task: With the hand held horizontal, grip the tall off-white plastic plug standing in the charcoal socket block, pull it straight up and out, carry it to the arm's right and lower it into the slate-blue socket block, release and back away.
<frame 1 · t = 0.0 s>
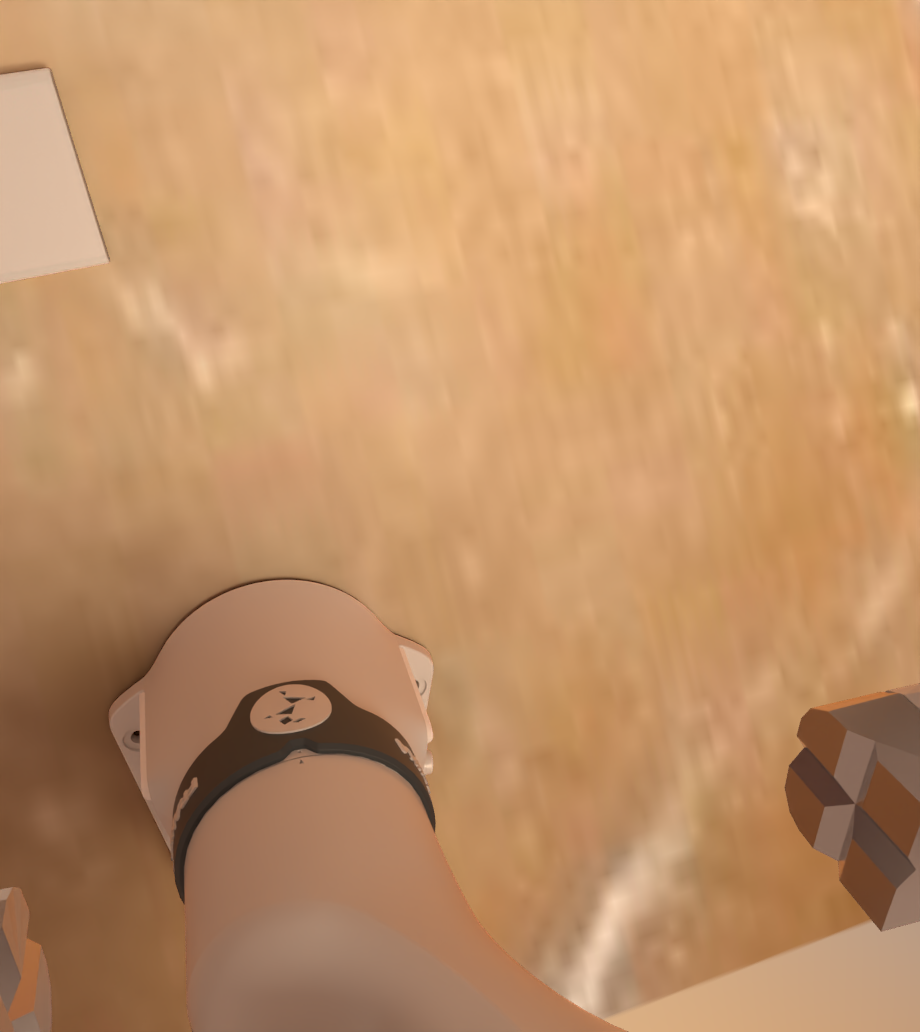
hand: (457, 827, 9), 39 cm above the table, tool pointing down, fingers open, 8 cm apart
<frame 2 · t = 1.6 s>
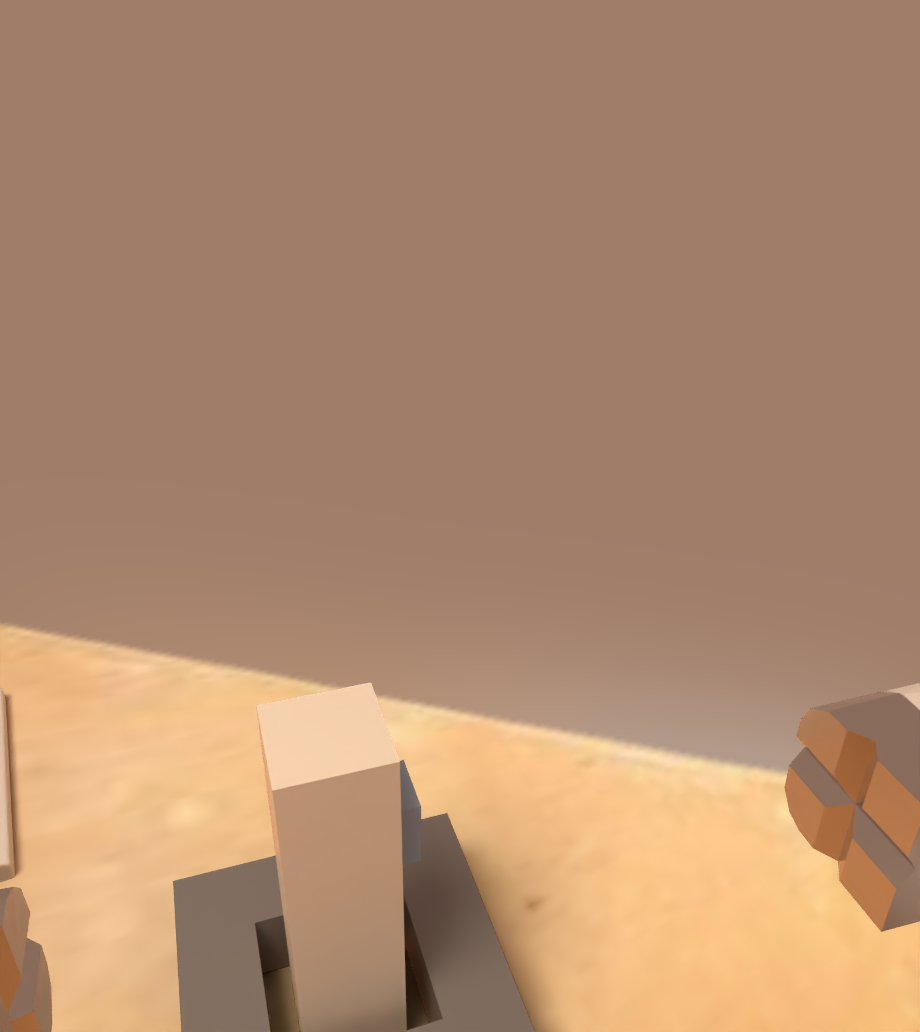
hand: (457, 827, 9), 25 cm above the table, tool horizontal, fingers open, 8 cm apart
socket a: (348, 1019, 32), on the table
plug: (350, 889, 29), in the socket a
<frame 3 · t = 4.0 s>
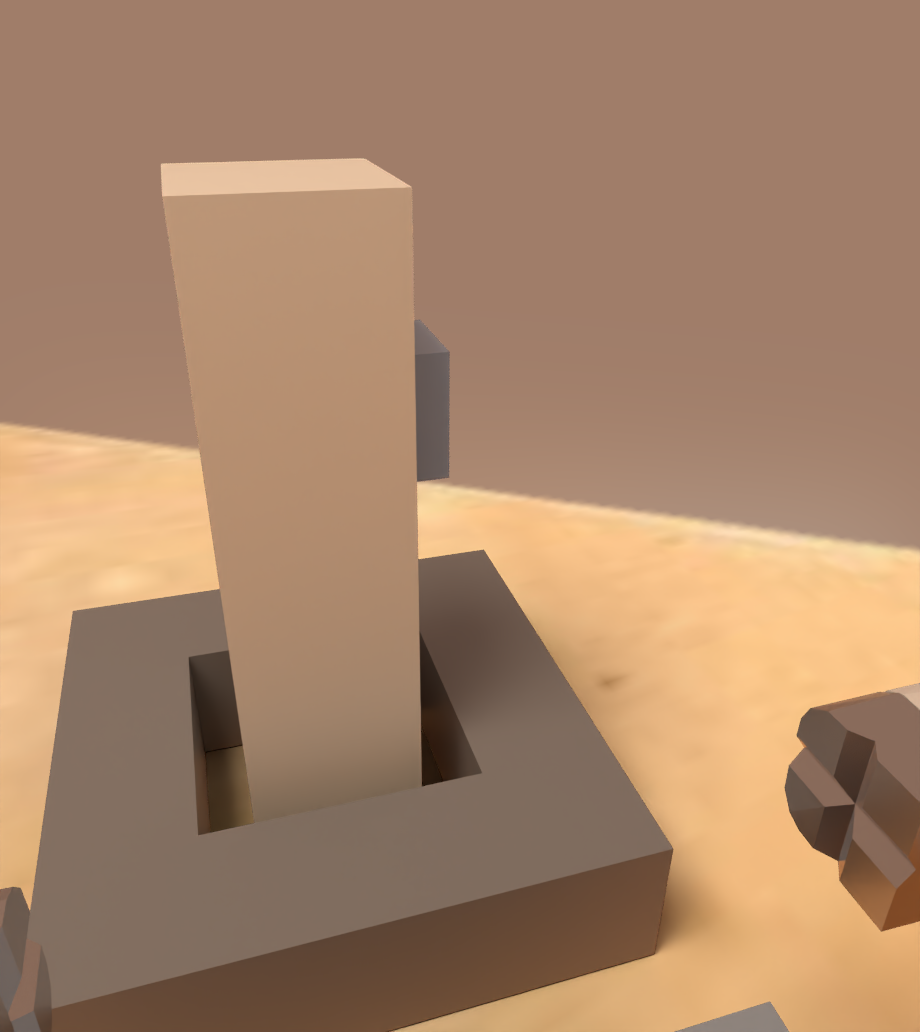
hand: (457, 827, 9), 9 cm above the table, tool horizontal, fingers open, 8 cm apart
socket a: (331, 808, 21), on the table
plug: (330, 551, 17), in the socket a
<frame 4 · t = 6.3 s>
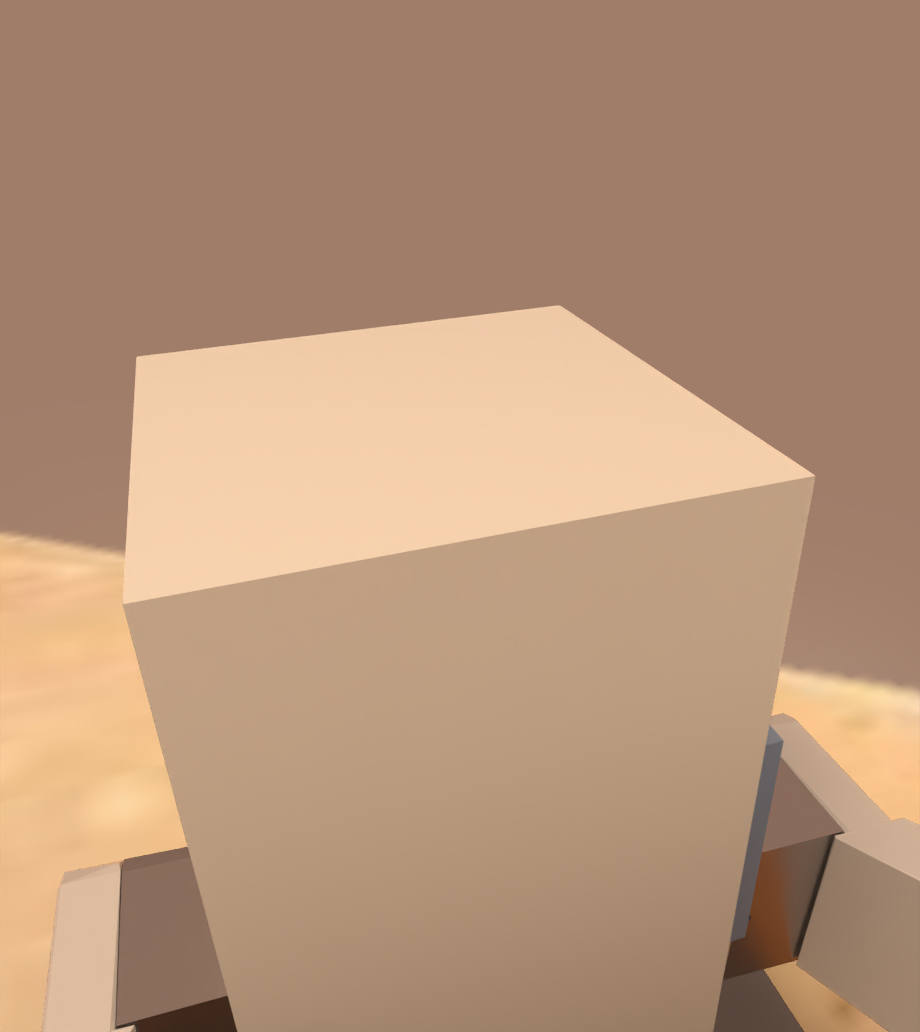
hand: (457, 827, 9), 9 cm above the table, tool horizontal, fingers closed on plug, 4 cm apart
plug: (489, 1022, 9), in the socket a, touching gripper
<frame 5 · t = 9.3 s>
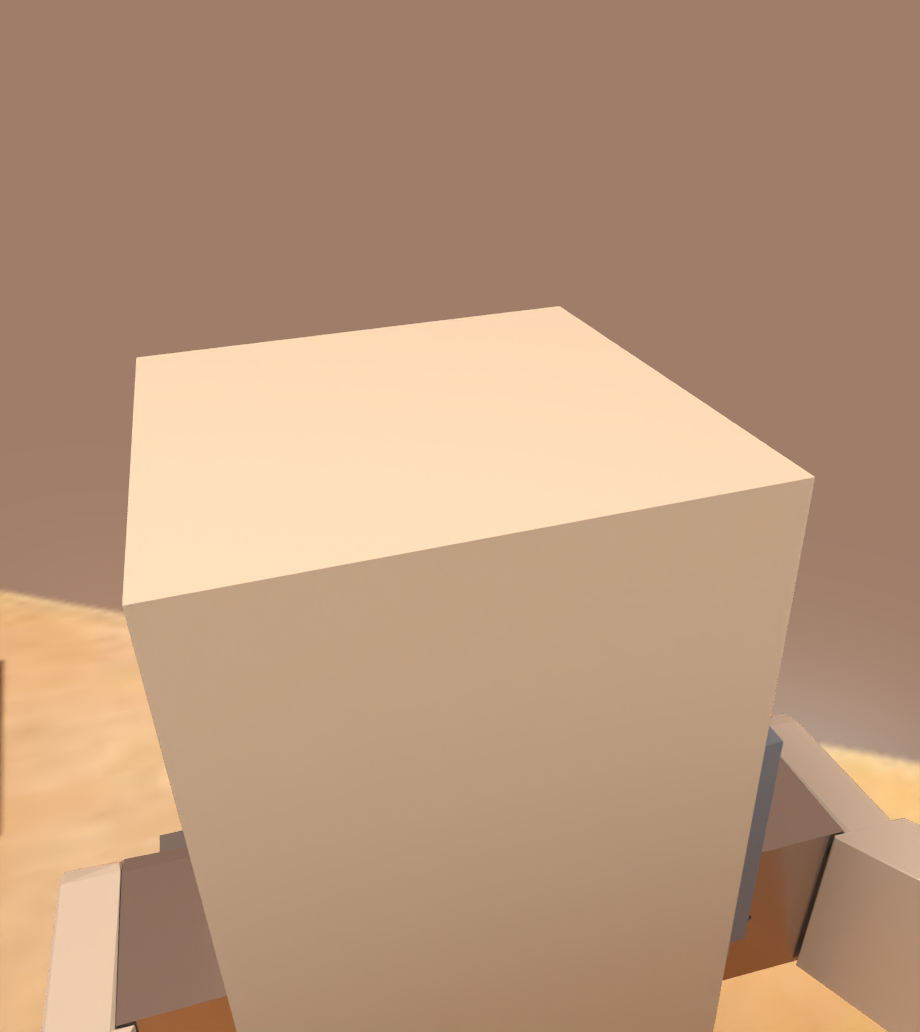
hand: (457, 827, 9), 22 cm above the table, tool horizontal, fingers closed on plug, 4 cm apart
socket a: (340, 981, 30), on the table
plug: (489, 1023, 9), point 20 cm above the table, touching gripper
when the fingers open (10 cm above the table, at t = 12.3 s): plug drops 1 cm, on the table.
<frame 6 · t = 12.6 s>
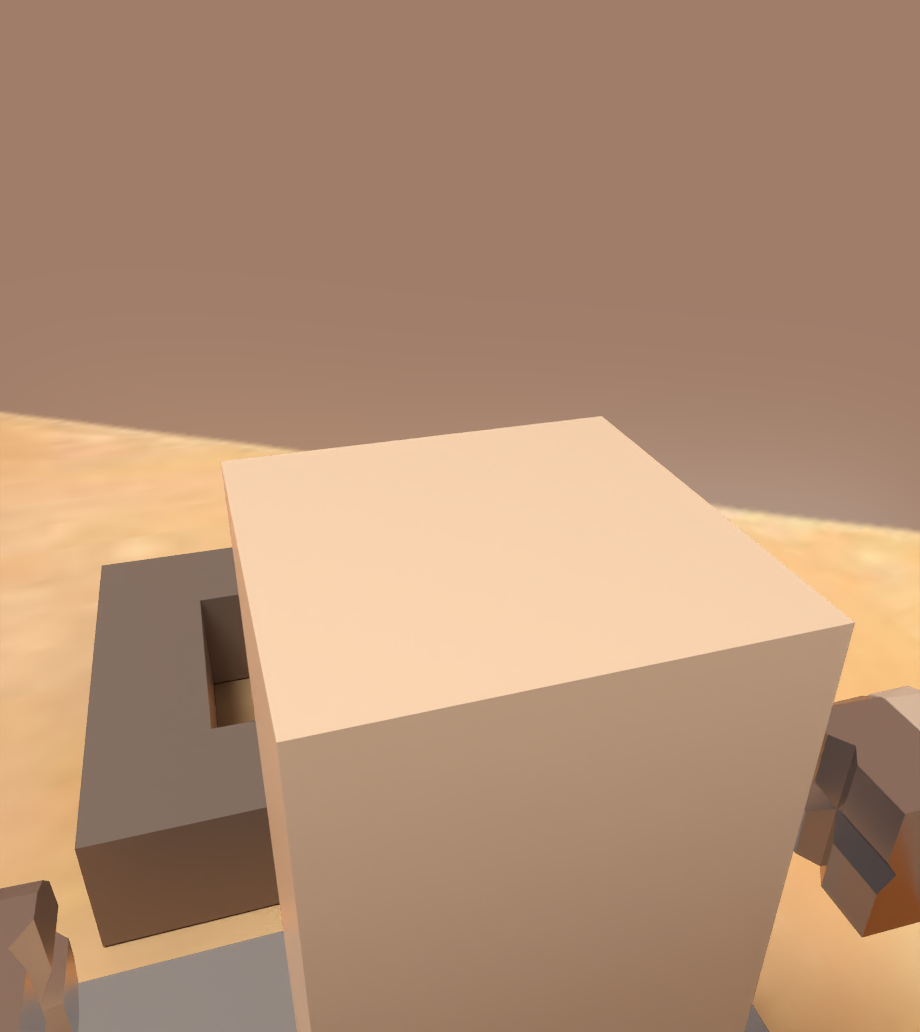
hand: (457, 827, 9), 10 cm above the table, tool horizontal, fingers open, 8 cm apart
socket a: (319, 726, 25), on the table
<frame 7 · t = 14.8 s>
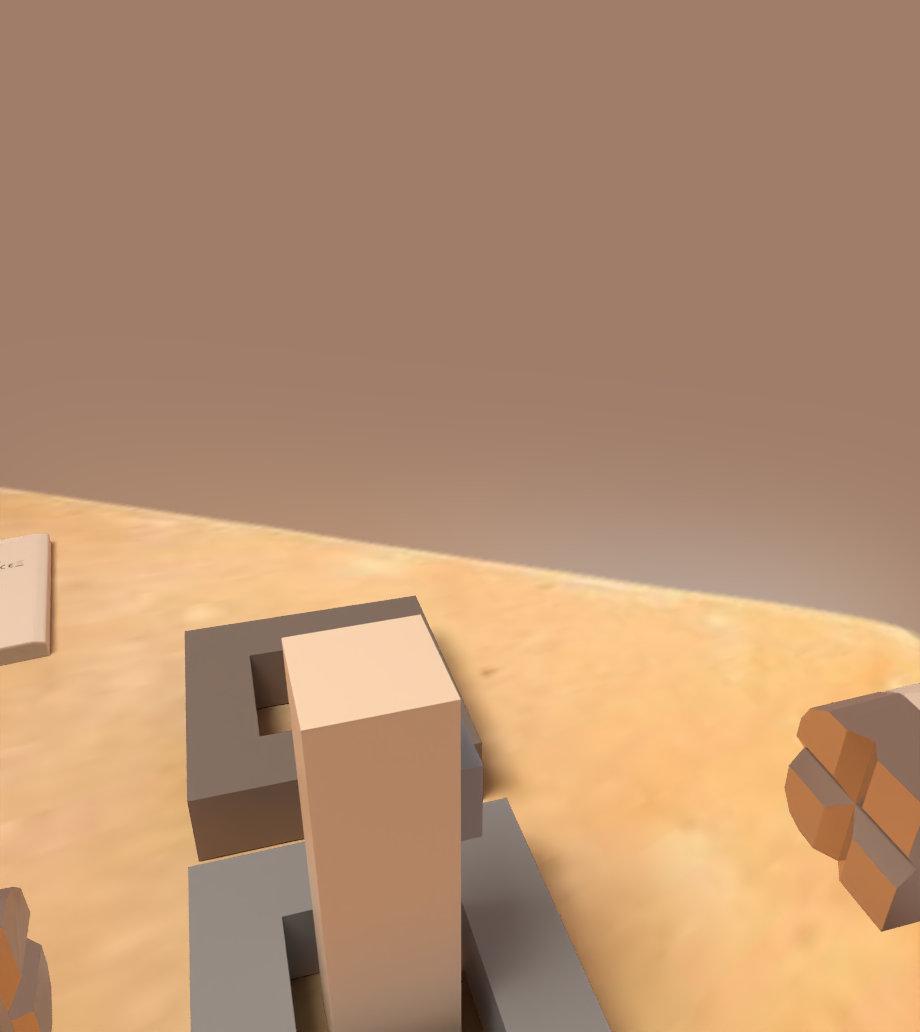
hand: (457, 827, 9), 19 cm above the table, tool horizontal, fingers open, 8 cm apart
socket a: (325, 736, 39), on the table
plug: (394, 875, 24), in the socket b
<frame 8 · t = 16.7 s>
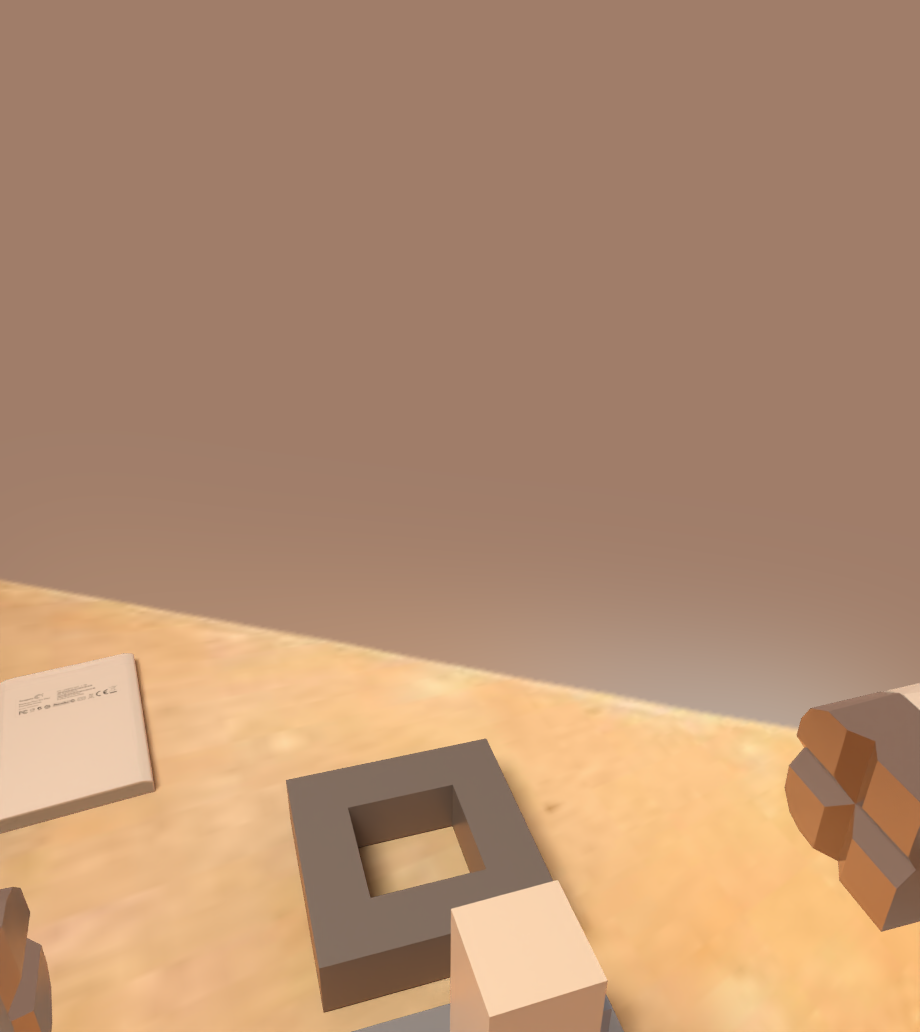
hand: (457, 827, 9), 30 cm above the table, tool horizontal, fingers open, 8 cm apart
external hard drive: (76, 748, 53), on the table
socket a: (415, 879, 44), on the table
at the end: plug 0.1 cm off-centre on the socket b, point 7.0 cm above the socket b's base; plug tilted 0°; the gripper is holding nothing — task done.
